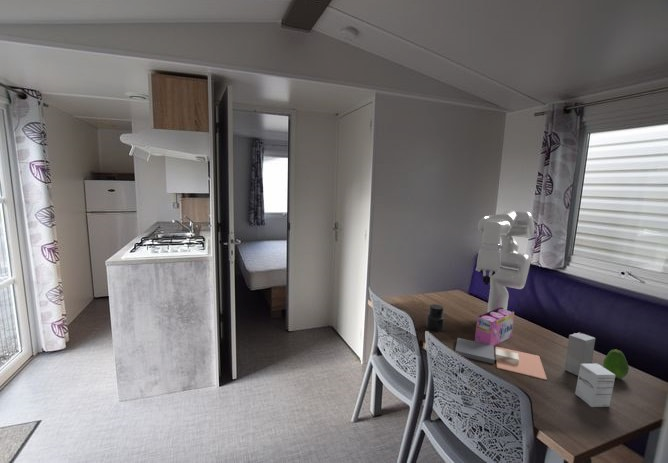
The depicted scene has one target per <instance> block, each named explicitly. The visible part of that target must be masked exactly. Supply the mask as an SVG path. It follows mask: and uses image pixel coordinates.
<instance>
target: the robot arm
mask: <svg viewBox="0 0 668 463" xmlns="http://www.w3.org/2000/svg"><path fill="white" fill-rule="evenodd" d="M477 229H478V231H479V232H480V233H482V234H483V235H482V242H481V243H482V244H481V247H480V248H479V249H478V254H477V259H476V266H475V267H476V268H475V271H477V272H480V274H482V278H483V279H482V283H484V285H486V286H488V285H490V286H489V288H490V289H489V296H488V303H487V304H488V305H487V312H490V311H492V310H494V309H497V308H500V307H501V308H503V309H504V310H508V304H509V303H508V302H509V291H508V289H507V288H512V289H517V290H522V289H524V287H525V286H526V283H527V278H528V274H529V272H530V266H531V257H530V256H529V255H528V254H525V253H521V252H520V253H519V252H518V250H519V243H517V241H516V239H515V238H514V237H517V238H526V239H531V238H532V237H533V236H534V234H535V222H534V218H533V215H532V214H531V212H529V211H527V210H526V211H525V210H524V211H523V210H514V209H513V210H506V211H504V212H503V213H499V214H491V215H485V216H483V217H481V219H479V221H478V224H477ZM487 271H488V273H487ZM487 312H486V313H487Z"/></svg>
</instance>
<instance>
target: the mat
mask: <svg viewBox="0 0 668 463" xmlns="http://www.w3.org/2000/svg"><path fill="white" fill-rule="evenodd" d="M495 349H501V350H505V351H510V352H514V353H518V356H519V364H518V365H516V364H512V363H507V362H503V361H499V360H495V361H496V368H497V369H498V370H504V371H508V372H511V373H516V374H521V375H525V376H528V377H532V378H537V379H540V380H544V381H545V380H546V381H547V380H548V379H547V378H548V377H547V375H546V372H545V370H544V366H543V364H542V363H543V362H542V360H541V358H540V355H537V354H532V353H528V352H522V351H519V350H513V349H509V348H506V347H500V346H497V345H495V346H494V350H495Z"/></svg>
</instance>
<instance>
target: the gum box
mask: <svg viewBox="0 0 668 463" xmlns="http://www.w3.org/2000/svg"><path fill="white" fill-rule="evenodd" d="M514 318H515V311H514V310H512V311H511V310H508V309H507V310H504V309H503V308H501V307H500V308H497V309H494V310H492V311H490V312H485V313H483V314H480V315H477V316H476V323H475V324H476V325H475V333H474V341H475V342H480V343H485V344H489V345H494V347H495V346H497V345H499V344H501V343H503V342H505V341H507V340H508V339H510V338H512V337H513V331H514V330H513V329H514Z"/></svg>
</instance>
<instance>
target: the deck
mask: <svg viewBox="0 0 668 463" xmlns="http://www.w3.org/2000/svg"><path fill="white" fill-rule="evenodd" d="M455 351H456V352H458V353H459V354H461V355H463V356H465V357H464V358H468V359H472V360H476V361H480V362H484V363H488V364H489V363H490V364H494V365H495V361H496V360H495V346H494V345H489V344H485V343H480V342H475V340H471V339H470V340H469V339H465V338H460V337H457V340H456V345H455ZM463 356H462V357H463Z"/></svg>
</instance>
